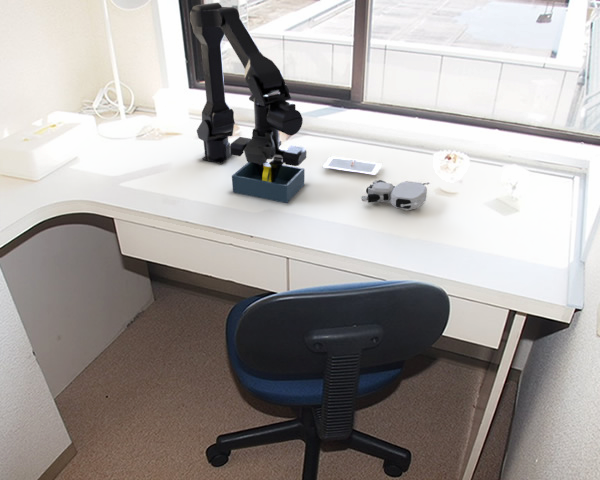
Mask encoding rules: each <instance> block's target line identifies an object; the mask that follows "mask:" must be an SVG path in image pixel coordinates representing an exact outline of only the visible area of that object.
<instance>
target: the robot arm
mask: <svg viewBox="0 0 600 480" xmlns="http://www.w3.org/2000/svg"><path fill="white" fill-rule="evenodd" d="M189 20H190V23H191V26H192V32H193V34H194V35H195V37H196V39H197V40H198V41H199V43H200V48H201V58H202V68H203V78H204V79H203V80H204V87H205V98H206V102H205V104H204V107H203V109H202V111H201V122H200V124H199V126H198V127H197V129H196V134H197V139H199V140H201V141H203V149H204V156H203V157H202V158H201V159H202V161H206V162H211V163H215V164H224V163H225V162H226V161H227V160H228V159H230V158H232V157H233V156H236V157H241V156H242V155H243V154H244V155H245V160H246V163H248V162H249V163H251V162H253V163H254V164H255V166H256V168H257V170H258V172H259V174H260V177H261V179H262V177H263V176H262V175H263V170H264V168H263V164H264V163H267V162H268V161H267V160H271V161H269V162H270V163H269V164H270V165H271V182H273V183H275V180H276V178H277V175H278V173H279V170H280V168H281V166H282V165H287V166H293V167H300V165H301V164H302V163H303V162H304V161H305V160H306V159H307V150H306V148H305V147H303V146H297V145H289V147H288V148H283V147H280V146H282V140H280V132H281V133H283V134H285V135H287V136H294V135H296V134H298V133H299V131H300V130H301V128H302V126H303V120H304V119H303V116H302V113H301V111H299V110H297V109H296V104H295V103H293V102H289V101H290V100H292V97H291V94H290V89H289V88H288V86H287V84H286V81H285V79H284V76H283V74H282V72H281V70H280V69H279V68H278V66H277V65H276V63H274V61H273V60H272V59H270V58H268V57H266V56H265V55H264V54H263V53H262V52H261V50H260V49H259V47H258V46H257V44H256V42H255V41H254V39H253V36H252V35H251V34H250V32H249V31H248V29H247V27H246V25H245V24H244V22H243V21H242V19H241V16H240V12H239V10H238V9H237V8H236V7H233V6H222V4H221V3H219V2H211V3H203V4H195V5H193V7H192V9H190V13H189ZM224 37H225V38H226V40H227V41H228V43H229V45H230V46H231V47H232V49H233V51H234V52H235V54H236V56H237V58H238V60H239V61H240V62H241V65H242V66H243V68H244V80H245V82H246V84H247V87H248V89H249V91H250V93H251V95H250V96H249V97H248V100H249V101H250V102H252V103H253V112H254V128H253V129H252V133H251V134H252V135H251V138H249V137H243V136H239V137H237V138H236V139H235V140H234V141H232V142H231V143H230V142H229V137H233V136H234V128H235V124H236V122H235V115H234V114H235V113H234V112H235V111H234V110H233V109H232V108H230V106H229V105H228V104H227V102H226V93H225V82H224V80H225V79H224V67H223V56H222V55H223V54H222V42H223V40H224ZM278 92H279V93H278ZM275 93H276V94H275Z"/></svg>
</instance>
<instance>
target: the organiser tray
mask: <svg viewBox="0 0 600 480" xmlns="http://www.w3.org/2000/svg"><path fill="white" fill-rule="evenodd" d="M270 162H271V161H267V163H270ZM268 180H269V173H268ZM231 186H232V193H233V194H239V195H244V196H248V197H249V196H250V197H254V198H259V199H264V200H269V201H275V202H279V203H284V204H288V203H289V202H290V201H291V200H292V199H293V198H294V197H295V196H296V195H297V194H298V193H299V191H301V189H302V188H303V187H304V186H305V168H303V167H299V166H292V165H286V164H282V166H281V168H280V170H279V173H278V175H277V178H276V180H275V183H273V182H268V181H262V179H261V177H260V174H259V172H258V170H257V168H256V166H255V164H254V163H253V162H251V163H249V162H246V163H245V164H244V165H243V166H241V168H239V169H238V170H237V171H236V172H235V173H233V174H232V175H231Z"/></svg>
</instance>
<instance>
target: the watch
mask: <svg viewBox="0 0 600 480" xmlns="http://www.w3.org/2000/svg"><path fill="white" fill-rule="evenodd" d="M263 168H264V170H263V175H262V176H263V177H262V181H268V182H271V165H270V164H269V163H264V164H263ZM268 173H269V180H268Z"/></svg>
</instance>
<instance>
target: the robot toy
mask: <svg viewBox="0 0 600 480" xmlns="http://www.w3.org/2000/svg"><path fill="white" fill-rule="evenodd" d="M430 184H431V183H430V182H424V183H423V182H419V181H418V182H417V181H408V180H407V181H401V182H400V183H398V184H396V185H394V184H392V183H390V182H386V181H384V180H381V179H379V180H374V181H372V183H371V184H369V185H368V186H367V187H366V189H365V193H366V194H367V195H362V196H361V197H360V201H362V202H367V203H389V202H390V204H391V205H392V206H393V207H394V208H396V209H401V210H403V211H406V212H408V211H410V210H414V209H418V208H419V207H421V206H422V205H423V204H424V203H425V202H426V201H427V196H428V195H427V193H428V187H427V186H426V185H430Z"/></svg>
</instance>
